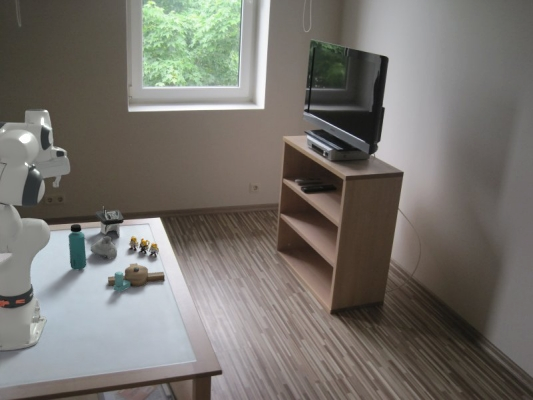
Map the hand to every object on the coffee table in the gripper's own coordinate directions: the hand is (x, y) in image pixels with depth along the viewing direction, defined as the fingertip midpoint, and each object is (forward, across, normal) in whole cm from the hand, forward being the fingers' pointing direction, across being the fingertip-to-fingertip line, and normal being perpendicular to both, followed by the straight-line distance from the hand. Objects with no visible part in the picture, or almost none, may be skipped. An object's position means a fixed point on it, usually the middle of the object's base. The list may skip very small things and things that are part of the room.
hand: (43, 189), depth 212 cm
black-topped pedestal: (+40, +42, +29) cm, 65 cm away
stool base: (+40, +29, -14) cm, 51 cm away
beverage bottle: (+40, +14, +6) cm, 43 cm away
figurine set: (+40, +44, +4) cm, 60 cm away
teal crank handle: (+40, +20, -19) cm, 48 cm away
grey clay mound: (+40, +29, +11) cm, 50 cm away
